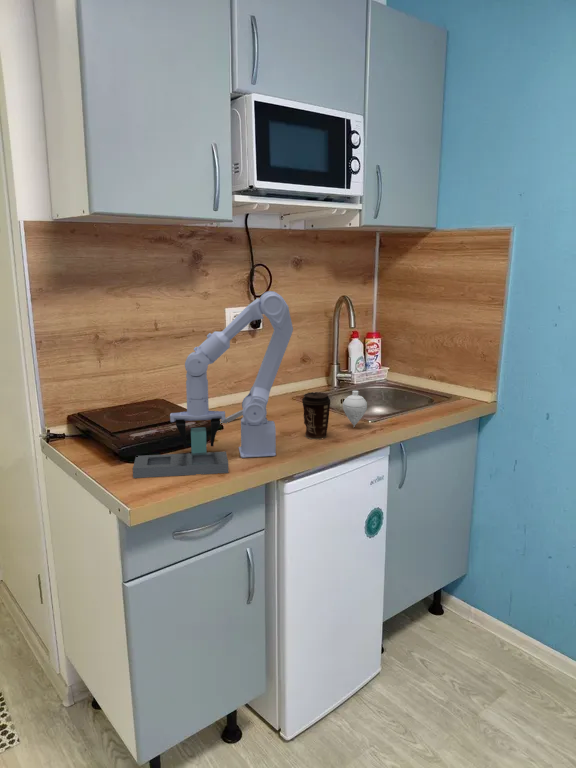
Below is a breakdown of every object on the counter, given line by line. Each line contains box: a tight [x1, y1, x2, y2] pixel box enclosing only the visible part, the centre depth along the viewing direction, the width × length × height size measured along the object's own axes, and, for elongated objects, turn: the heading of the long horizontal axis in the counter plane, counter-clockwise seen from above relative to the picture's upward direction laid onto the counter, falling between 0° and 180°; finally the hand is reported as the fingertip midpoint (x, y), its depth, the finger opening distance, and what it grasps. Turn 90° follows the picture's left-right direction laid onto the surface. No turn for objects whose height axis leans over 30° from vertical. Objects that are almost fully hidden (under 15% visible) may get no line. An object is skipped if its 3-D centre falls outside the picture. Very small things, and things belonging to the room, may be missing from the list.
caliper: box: [220, 409, 243, 424], centre depth 188 cm, size 20×1×6 cm, turn 136°
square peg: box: [190, 427, 208, 453], centre depth 153 cm, size 4×4×7 cm
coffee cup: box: [301, 391, 331, 440], centre depth 169 cm, size 9×8×13 cm
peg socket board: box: [132, 451, 229, 479], centre depth 142 cm, size 23×9×2 cm, turn 100°
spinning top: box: [342, 390, 368, 428], centre depth 178 cm, size 8×8×12 cm
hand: (198, 445), depth 153 cm, fingers open, 6 cm apart
